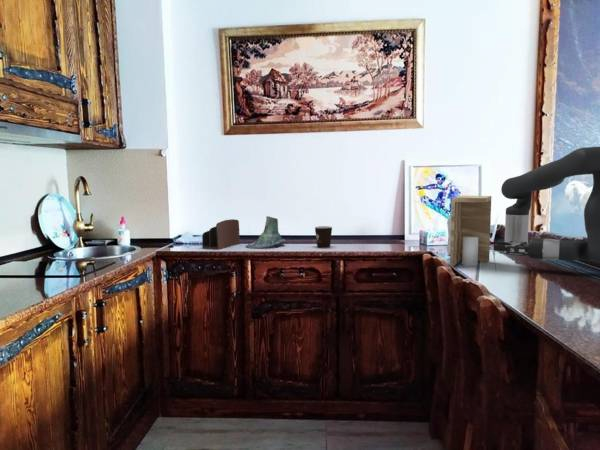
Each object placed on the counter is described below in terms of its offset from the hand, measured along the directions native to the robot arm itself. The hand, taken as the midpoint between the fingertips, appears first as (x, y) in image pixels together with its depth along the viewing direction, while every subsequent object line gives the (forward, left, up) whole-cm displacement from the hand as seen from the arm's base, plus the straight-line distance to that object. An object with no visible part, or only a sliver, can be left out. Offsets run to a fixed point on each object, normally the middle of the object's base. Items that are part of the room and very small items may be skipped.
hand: (495, 246), depth 163 cm
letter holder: (+5, -130, -8) cm, 130 cm away
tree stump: (-5, -109, -8) cm, 110 cm away
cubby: (-1, -9, -8) cm, 12 cm away
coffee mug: (-16, -81, -8) cm, 83 cm away
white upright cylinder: (0, -9, -8) cm, 12 cm away
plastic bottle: (-18, -18, -8) cm, 27 cm away
